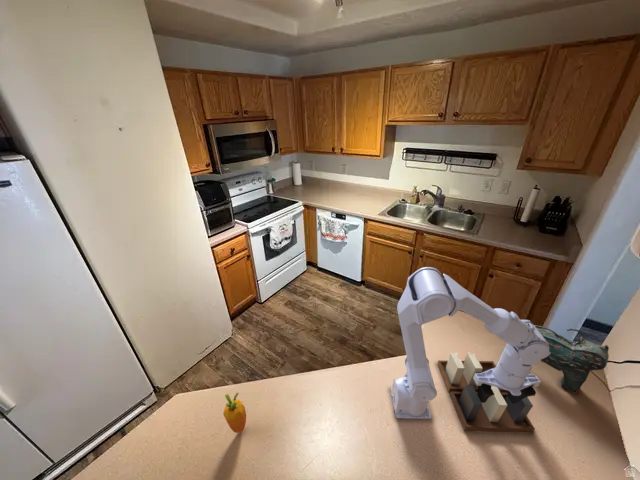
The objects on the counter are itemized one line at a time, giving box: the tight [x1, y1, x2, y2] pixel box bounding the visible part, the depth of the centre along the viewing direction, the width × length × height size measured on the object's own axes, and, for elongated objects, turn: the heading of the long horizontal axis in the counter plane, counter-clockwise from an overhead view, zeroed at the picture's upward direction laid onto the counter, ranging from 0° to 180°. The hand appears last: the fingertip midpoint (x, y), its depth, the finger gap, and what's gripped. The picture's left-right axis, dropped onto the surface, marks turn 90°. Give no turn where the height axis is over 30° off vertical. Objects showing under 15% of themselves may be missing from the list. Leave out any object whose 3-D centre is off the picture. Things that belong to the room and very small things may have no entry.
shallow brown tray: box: [436, 359, 508, 393], centre depth 79 cm, size 17×9×2 cm, turn 88°
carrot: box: [223, 392, 247, 434], centre depth 65 cm, size 5×5×15 cm
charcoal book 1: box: [458, 385, 482, 422], centre depth 69 cm, size 2×5×8 cm, turn 178°
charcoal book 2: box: [505, 396, 534, 423], centre depth 68 cm, size 2×5×8 cm, turn 178°
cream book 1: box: [445, 352, 465, 385], centre depth 78 cm, size 2×5×8 cm, turn 178°
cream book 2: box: [463, 352, 483, 385], centre depth 77 cm, size 2×5×8 cm, turn 178°
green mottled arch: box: [533, 324, 610, 394], centre depth 75 cm, size 20×6×20 cm, turn 49°
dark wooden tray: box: [449, 392, 536, 434], centre depth 70 cm, size 17×9×2 cm, turn 88°
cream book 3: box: [482, 386, 507, 422], centre depth 69 cm, size 2×5×8 cm, turn 178°
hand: (495, 399), depth 67 cm, fingers open, 7 cm apart
